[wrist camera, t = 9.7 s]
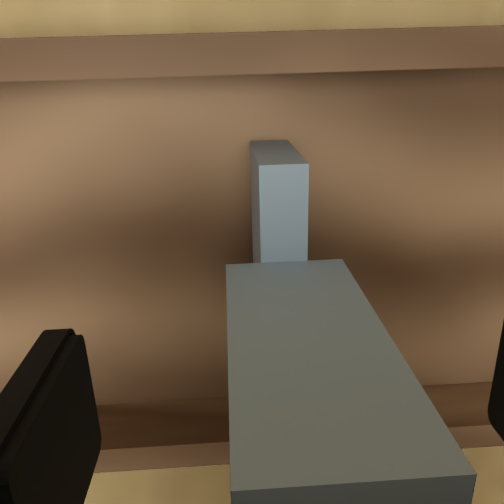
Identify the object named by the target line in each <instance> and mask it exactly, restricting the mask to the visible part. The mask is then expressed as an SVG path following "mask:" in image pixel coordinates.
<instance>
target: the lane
mask: <svg viewBox="0 0 504 504" xmlns="http://www.w3.org/2000/svg"><path fill="white" fill-rule="evenodd" d="M264 140H288V141H289V142H290V143H291V144H292V145H293V146H294V147H295V149H296V150H297V151H298V152H299V153H300V154H301V155H302V156H303V157H304V159H305V160H306V161H307V162H308V163H309V197H308V259H307V261H309V260H330V259H342V260H343V261H344V263H345V264H346V266H347V268H348V269H349V271H350V272H351V274H352V276H353V277H354V279H355V280H356V282H357V284H358V285H359V287H360V288H361V290H362V292H363V293H364V295H365V296H366V298H367V300H368V301H369V303H370V304H371V306H372V308H373V309H374V311H375V312H376V314H377V316H378V317H379V319H380V320H381V322H382V324H383V325H384V327H385V328H386V330H387V332H388V333H389V335H390V336H391V338H392V340H393V341H394V343H395V344H396V346H397V348H398V349H399V351H400V352H401V354H402V356H403V357H404V359H405V360H406V362H407V364H408V365H409V367H410V368H411V370H412V372H413V373H414V375H415V376H416V378H417V380H418V381H419V383H420V384H421V386H422V388H423V389H424V391H425V392H426V394H427V395H428V397H429V399H430V400H431V402H432V403H433V405H434V407H435V408H436V410H437V411H438V413H439V415H440V416H441V418H442V419H443V421H444V423H445V424H446V426H447V427H448V429H449V431H450V432H451V434H452V435H453V437H454V439H455V440H456V442H457V443H458V445H459V447H460V448H475V447H490V446H504V441H503V440H502V439H501V437H500V436H499V435H498V433H497V432H496V431H495V429H494V428H493V427H492V425H491V423H490V421H489V418H488V412H487V411H488V403H489V398H490V392H491V387H492V381H493V376H494V370H495V365H496V359H497V354H498V348H499V342H500V337H501V331H502V326H503V320H504V25H500V26H461V27H423V28H384V29H345V30H307V31H268V32H230V33H191V34H152V35H114V36H75V37H37V38H0V393H1V392H2V390H3V389H4V387H5V386H6V384H7V383H8V381H9V380H10V378H11V377H12V375H13V374H14V372H15V371H16V370H17V368H18V367H19V365H20V364H21V362H22V361H23V359H24V358H25V356H26V355H27V353H28V352H29V351H30V349H31V348H32V346H33V345H34V343H35V342H36V340H37V339H38V337H39V336H40V334H41V333H42V332H43V331H44V330H50V329H68V328H72V329H73V330H74V331H75V334H76V335H80V334H82V335H83V337H84V340H85V345H86V350H87V356H88V362H89V367H90V373H91V379H92V384H93V390H94V396H95V401H96V407H97V413H98V418H99V424H100V430H101V450H100V454H99V457H98V460H97V463H96V466H95V469H94V472H93V473H101V472H116V471H131V470H146V469H161V468H176V467H191V466H206V465H221V464H230V440H229V392H228V344H227V296H226V264H246V263H253V241H252V206H251V171H250V141H264Z"/></svg>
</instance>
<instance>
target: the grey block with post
mask: <svg viewBox="0 0 504 504" xmlns="http://www.w3.org/2000/svg"><path fill="white" fill-rule="evenodd" d="M250 171H251V206H252V241H253V263H246V264H226V296H227V344H228V392H229V440H230V488H231V504H471V502H472V497H473V492H474V486H475V481H476V476H477V474H476V472H475V471H474V469H473V467H472V466H471V464H470V463H469V461H468V459H467V458H466V456H465V455H464V453H463V451H462V450H461V448H460V447H459V445H458V443H457V442H456V440H455V439H454V437H453V435H452V434H451V432H450V431H449V429H448V427H447V426H446V424H445V423H444V421H443V419H442V418H441V416H440V415H439V413H438V411H437V410H436V408H435V407H434V405H433V403H432V402H431V400H430V399H429V397H428V395H427V394H426V392H425V391H424V389H423V388H422V386H421V384H420V383H419V381H418V380H417V378H416V376H415V375H414V373H413V372H412V370H411V368H410V367H409V365H408V364H407V362H406V360H405V359H404V357H403V356H402V354H401V352H400V351H399V349H398V348H397V346H396V344H395V343H394V341H393V340H392V338H391V336H390V335H389V333H388V332H387V330H386V328H385V327H384V325H383V324H382V322H381V320H380V319H379V317H378V316H377V314H376V312H375V311H374V309H373V308H372V306H371V304H370V303H369V301H368V300H367V298H366V296H365V295H364V293H363V292H362V290H361V288H360V287H359V285H358V284H357V282H356V280H355V279H354V277H353V276H352V274H351V272H350V271H349V269H348V268H347V266H346V264H345V263H344V261H343V260H342V259H330V260H309V261H307V259H308V197H309V163H308V162H307V161H306V160H305V159H304V157H303V156H302V155H301V154H300V153H299V152H298V151H297V150H296V149H295V147H294V146H293V145H292V144H291V143H290V142H289V141H288V140H264V141H250Z"/></svg>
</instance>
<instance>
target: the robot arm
mask: <svg viewBox="0 0 504 504" xmlns="http://www.w3.org/2000/svg"><path fill="white" fill-rule="evenodd" d="M487 412H488V418H489V421H490V423H491V425H492V427H493V428H494V429H495V431H496V432H497V433H498V435H499V436H500V437H501V439H502V440H503V441H504V320H503V326H502V331H501V337H500V342H499V348H498V354H497V359H496V365H495V370H494V376H493V381H492V387H491V392H490V398H489V403H488V411H487ZM100 450H101V430H100V424H99V418H98V413H97V407H96V401H95V396H94V390H93V384H92V379H91V373H90V367H89V362H88V356H87V350H86V345H85V340H84V337H83V335H82V334H80V335H76V334H75V331H74V330H73V329H72V328H68V329H50V330H44V331H43V332H42V333H41V334H40V336H39V337H38V339H37V340H36V342H35V343H34V345H33V346H32V348H31V349H30V351H29V352H28V353H27V355H26V356H25V358H24V359H23V361H22V362H21V364H20V365H19V367H18V368H17V370H16V371H15V372H14V374H13V375H12V377H11V378H10V380H9V381H8V383H7V384H6V386H5V387H4V389H3V390H2V392H1V393H0V504H84V501H85V498H86V495H87V491H88V488H89V485H90V482H91V479H92V476H93V472H94V469H95V466H96V463H97V460H98V457H99V454H100Z"/></svg>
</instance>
